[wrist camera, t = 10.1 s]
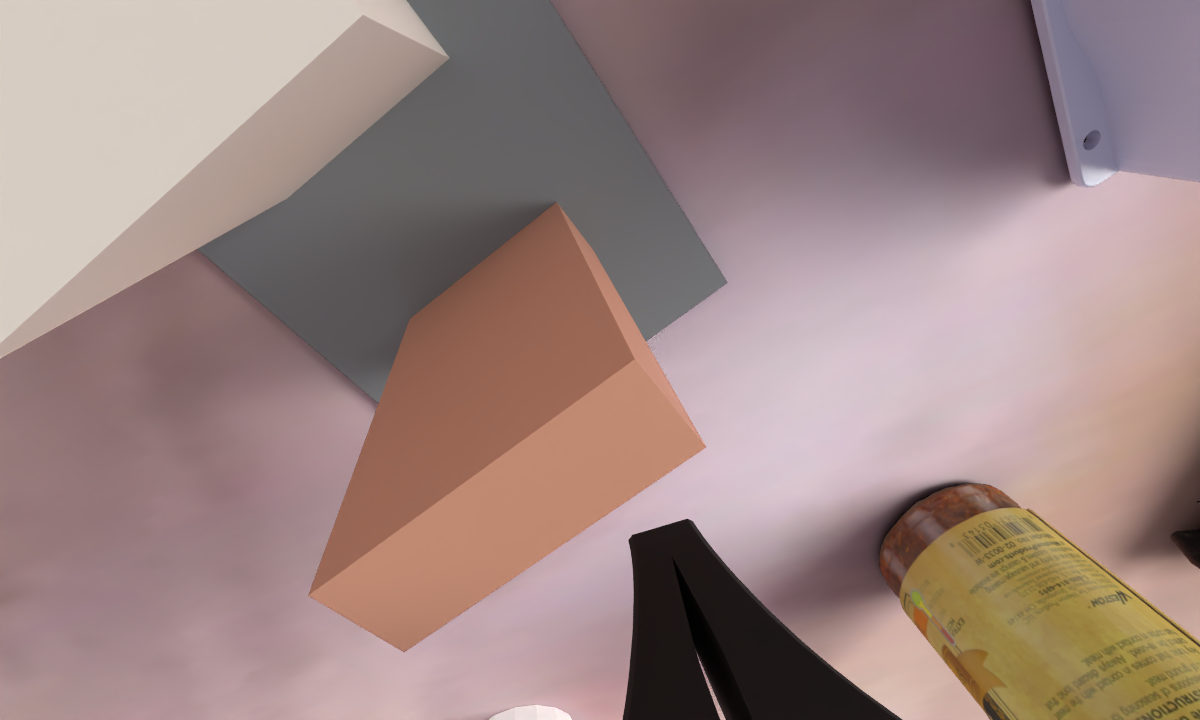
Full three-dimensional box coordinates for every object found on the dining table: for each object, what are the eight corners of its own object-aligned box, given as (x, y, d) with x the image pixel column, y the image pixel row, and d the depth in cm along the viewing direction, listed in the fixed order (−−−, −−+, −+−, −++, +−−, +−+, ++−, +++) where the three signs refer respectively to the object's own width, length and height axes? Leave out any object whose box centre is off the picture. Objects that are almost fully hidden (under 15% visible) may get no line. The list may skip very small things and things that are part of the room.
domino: (450, 58, 12) (362, 15, 4) (287, 197, 13) (-44, 383, 5) (396, -14, 11) (173, -223, 4) (227, 139, 12) (-270, 247, 4)
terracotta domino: (409, 318, 15) (307, 595, 7) (556, 201, 14) (635, 360, 6) (451, 359, 15) (404, 651, 8) (593, 250, 15) (706, 447, 7)
